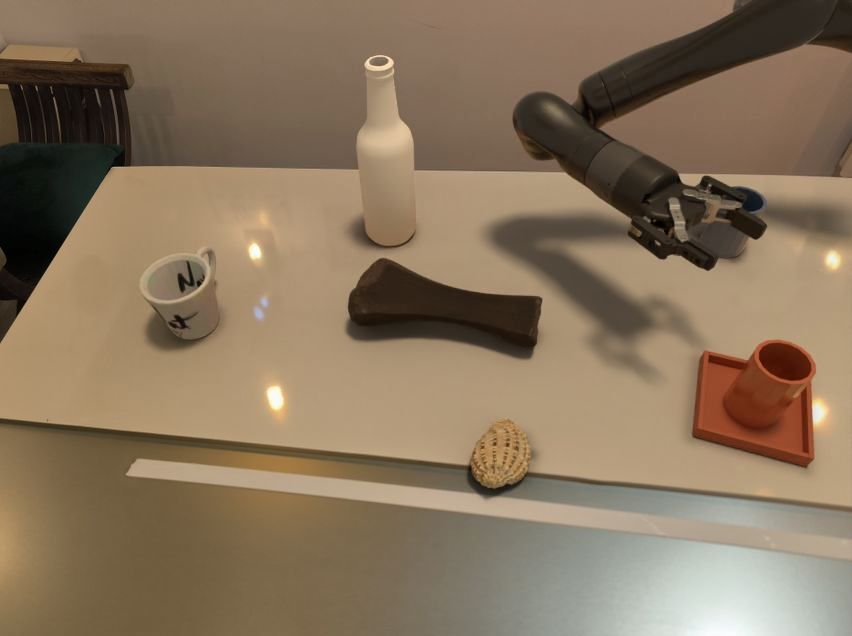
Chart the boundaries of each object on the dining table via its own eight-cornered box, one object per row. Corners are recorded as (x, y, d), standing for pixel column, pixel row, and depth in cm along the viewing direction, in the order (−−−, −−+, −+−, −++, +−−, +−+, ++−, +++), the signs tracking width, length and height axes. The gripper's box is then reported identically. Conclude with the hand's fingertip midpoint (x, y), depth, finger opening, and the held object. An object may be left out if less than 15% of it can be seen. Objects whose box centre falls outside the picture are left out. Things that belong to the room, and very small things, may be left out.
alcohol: (367, 215, 109) (349, 47, 86) (416, 214, 108) (411, 44, 85) (364, 248, 104) (344, 79, 80) (415, 247, 103) (410, 76, 80)
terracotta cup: (750, 379, 82) (784, 332, 74) (789, 416, 79) (829, 370, 71) (712, 397, 81) (742, 351, 73) (749, 436, 77) (785, 392, 69)
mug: (150, 340, 94) (124, 295, 86) (196, 273, 102) (176, 228, 94) (209, 353, 91) (189, 309, 84) (251, 284, 100) (236, 238, 92)
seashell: (467, 448, 82) (471, 497, 73) (468, 410, 80) (472, 456, 71) (525, 449, 82) (536, 498, 73) (528, 411, 79) (540, 458, 70)
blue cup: (743, 235, 100) (767, 190, 93) (742, 261, 97) (766, 217, 90) (700, 227, 102) (720, 182, 95) (698, 253, 98) (718, 208, 91)
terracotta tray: (803, 383, 82) (811, 374, 80) (806, 466, 75) (814, 459, 73) (699, 358, 86) (704, 350, 84) (692, 436, 78) (697, 428, 77)
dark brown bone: (349, 327, 96) (525, 367, 93) (340, 313, 85) (538, 358, 82) (366, 262, 97) (540, 300, 94) (359, 240, 87) (554, 282, 84)
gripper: (596, 178, 74) (709, 250, 65) (676, 135, 78) (792, 197, 69) (584, 226, 80) (687, 298, 71) (659, 183, 84) (765, 246, 75)
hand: (739, 248), depth 70 cm, fingers open, 8 cm apart
